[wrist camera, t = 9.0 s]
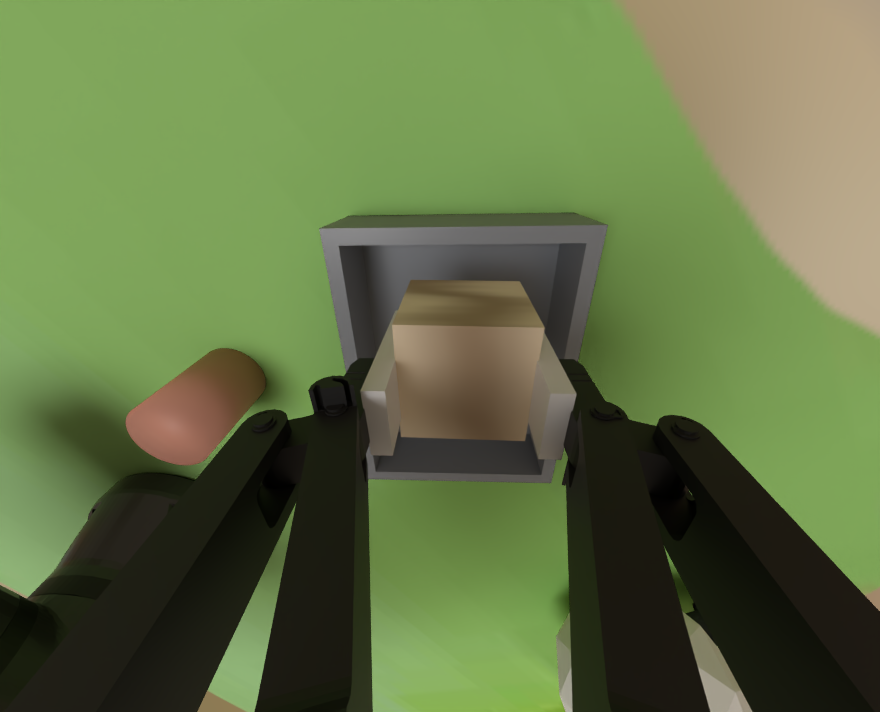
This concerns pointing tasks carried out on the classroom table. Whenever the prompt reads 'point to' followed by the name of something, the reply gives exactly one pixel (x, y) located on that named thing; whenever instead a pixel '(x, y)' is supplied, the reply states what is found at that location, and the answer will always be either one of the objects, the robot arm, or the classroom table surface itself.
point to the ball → (715, 674)
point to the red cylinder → (197, 407)
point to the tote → (461, 258)
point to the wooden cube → (466, 359)
